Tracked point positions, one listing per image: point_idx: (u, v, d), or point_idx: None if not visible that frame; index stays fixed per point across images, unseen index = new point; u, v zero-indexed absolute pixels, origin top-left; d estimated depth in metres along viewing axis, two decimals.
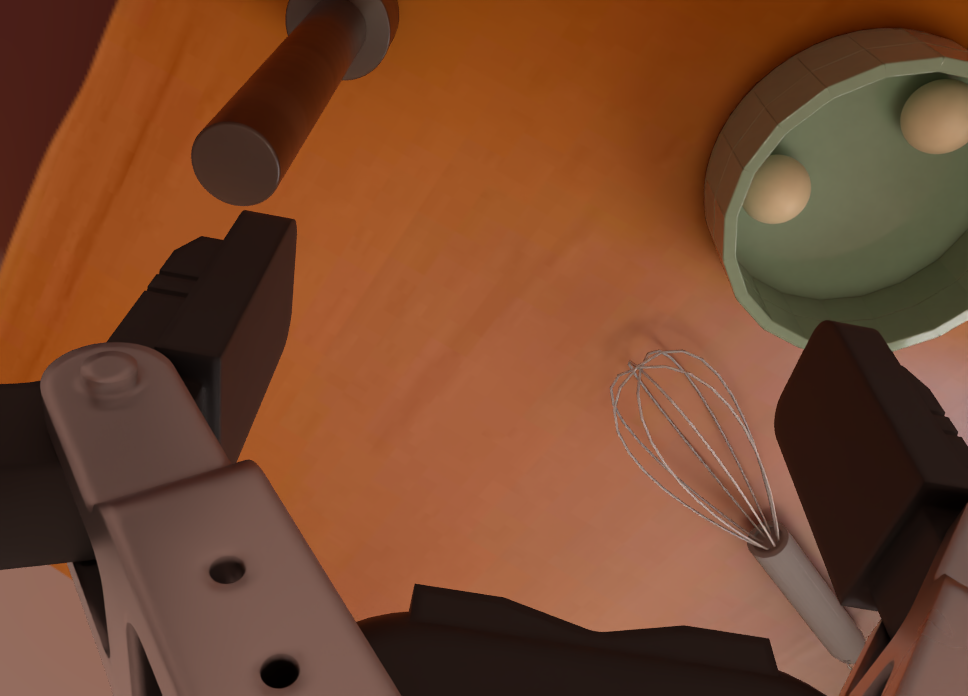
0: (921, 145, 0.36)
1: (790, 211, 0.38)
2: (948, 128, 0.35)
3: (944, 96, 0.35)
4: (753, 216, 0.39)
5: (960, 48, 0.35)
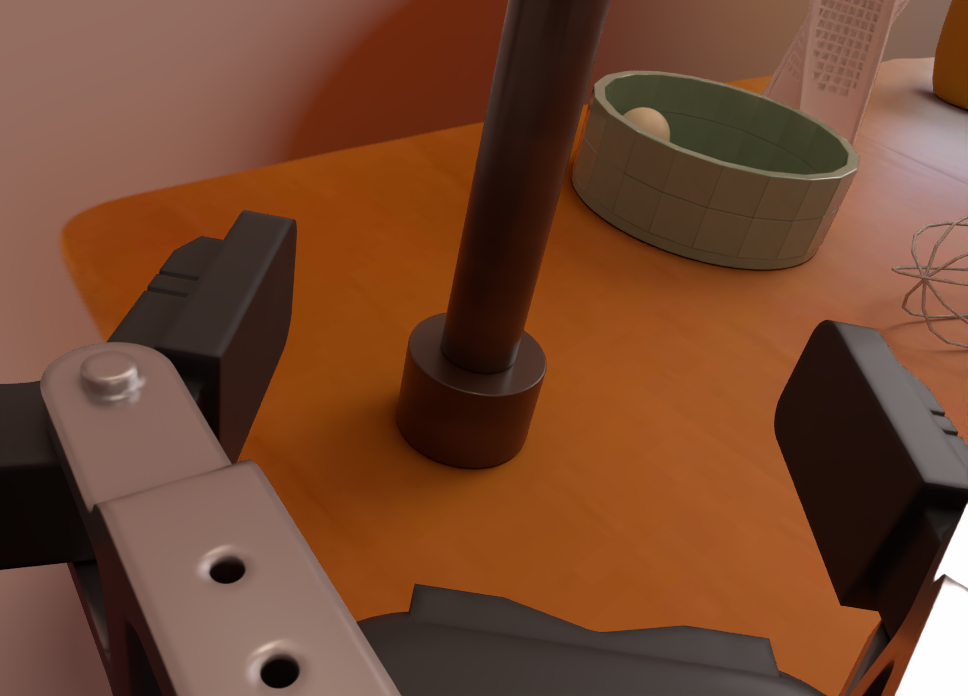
0: (661, 130, 0.46)
1: None
2: (648, 111, 0.46)
3: None
4: None
5: None
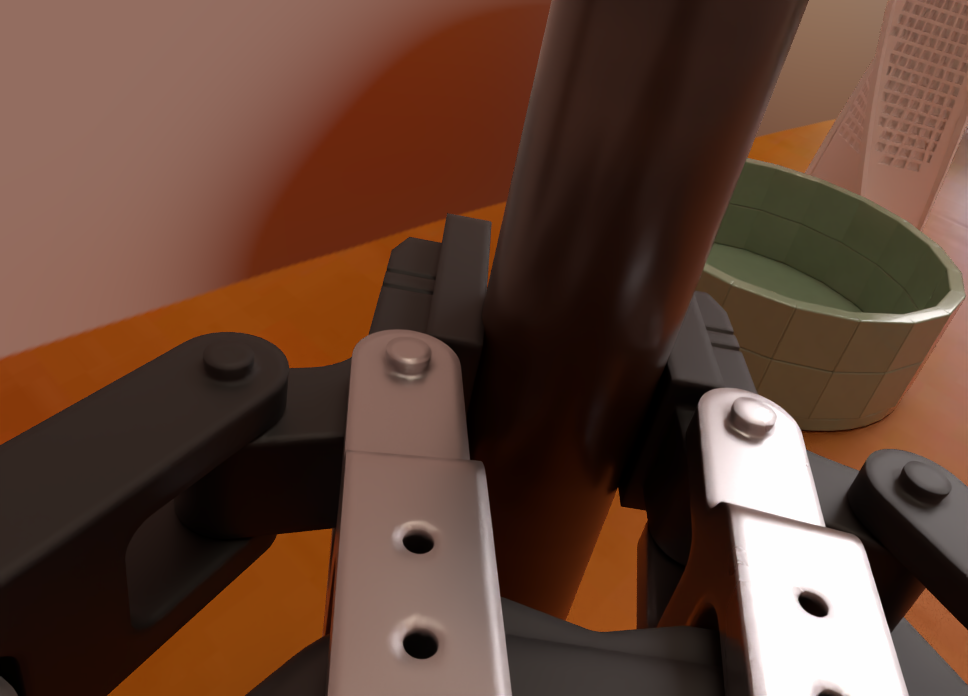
0: None
1: None
2: None
3: None
4: None
5: None
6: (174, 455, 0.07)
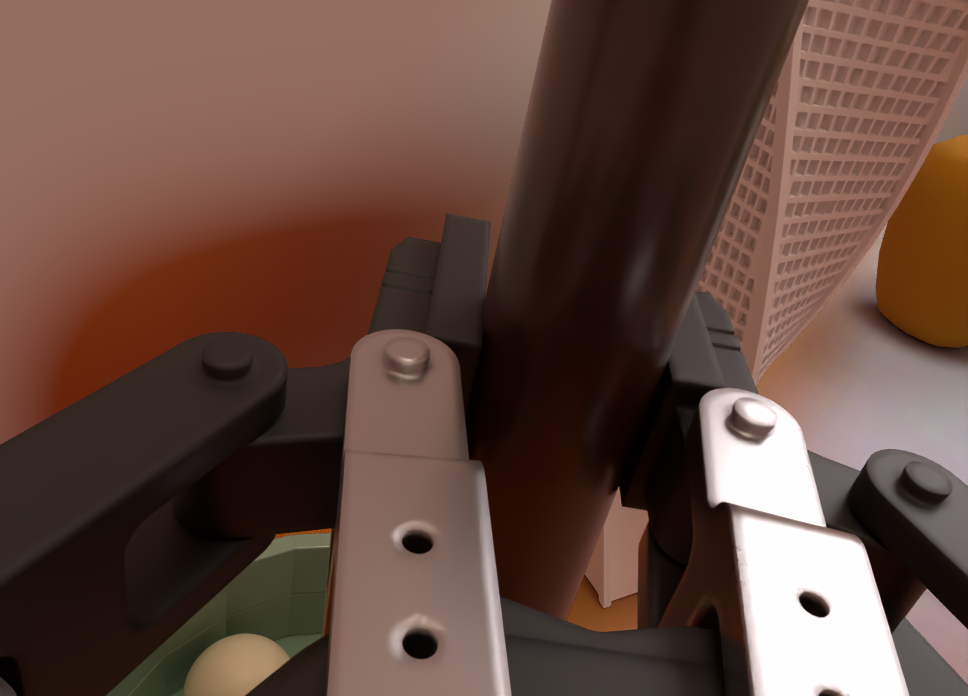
0: None
1: None
2: (235, 669, 0.23)
3: (192, 678, 0.23)
4: None
5: None
6: (173, 455, 0.07)
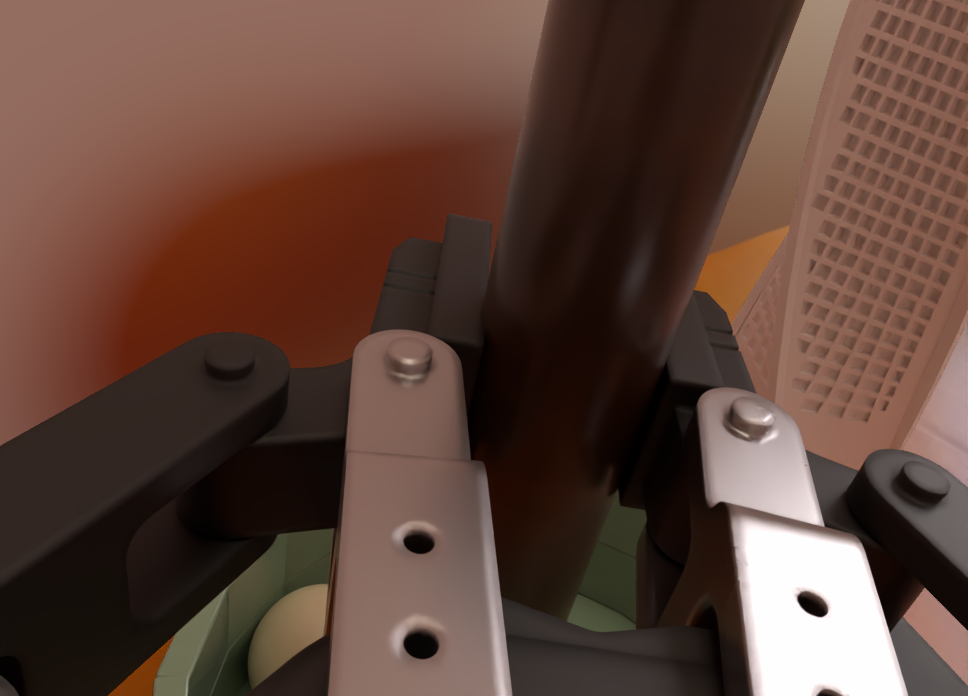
0: None
1: None
2: (303, 605, 0.18)
3: None
4: None
5: None
6: (175, 455, 0.07)
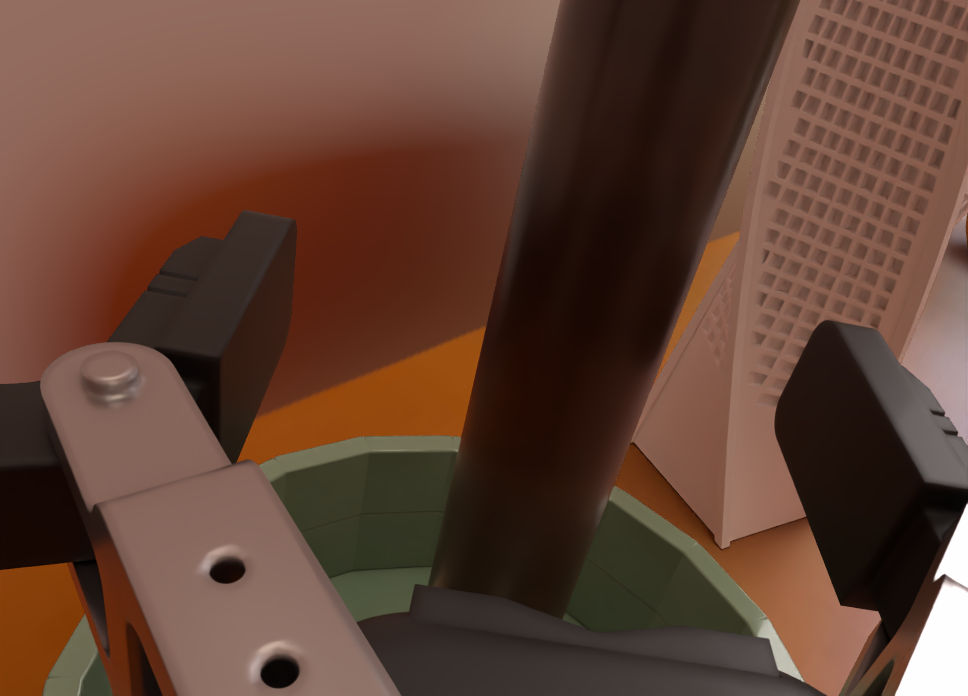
0: None
1: None
2: None
3: None
4: None
5: None
6: None
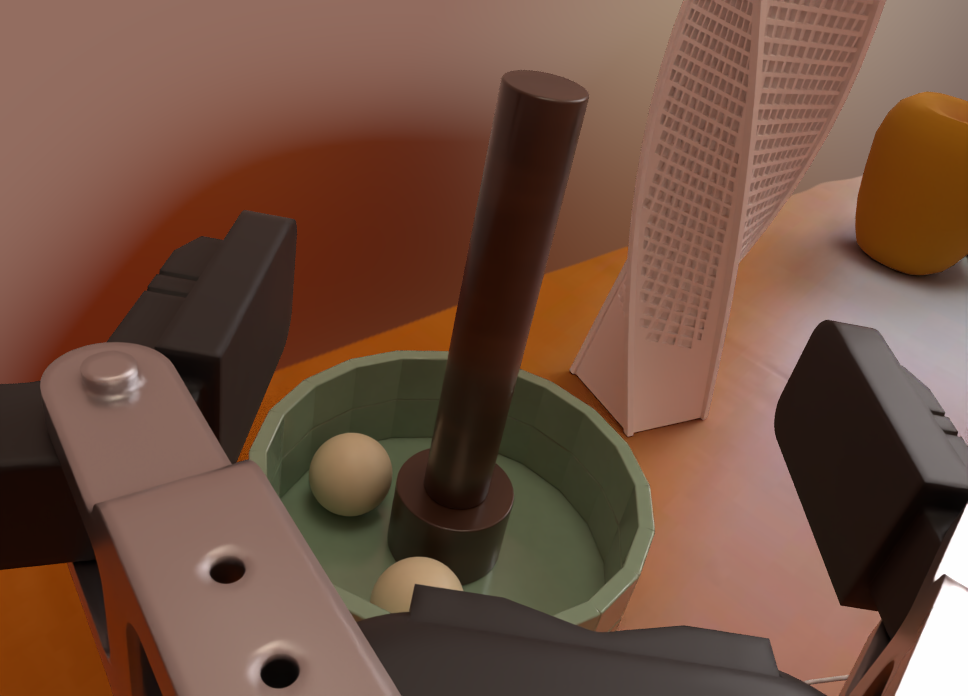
0: (349, 475, 0.30)
1: (440, 567, 0.27)
2: (358, 443, 0.31)
3: None
4: None
5: None
6: None
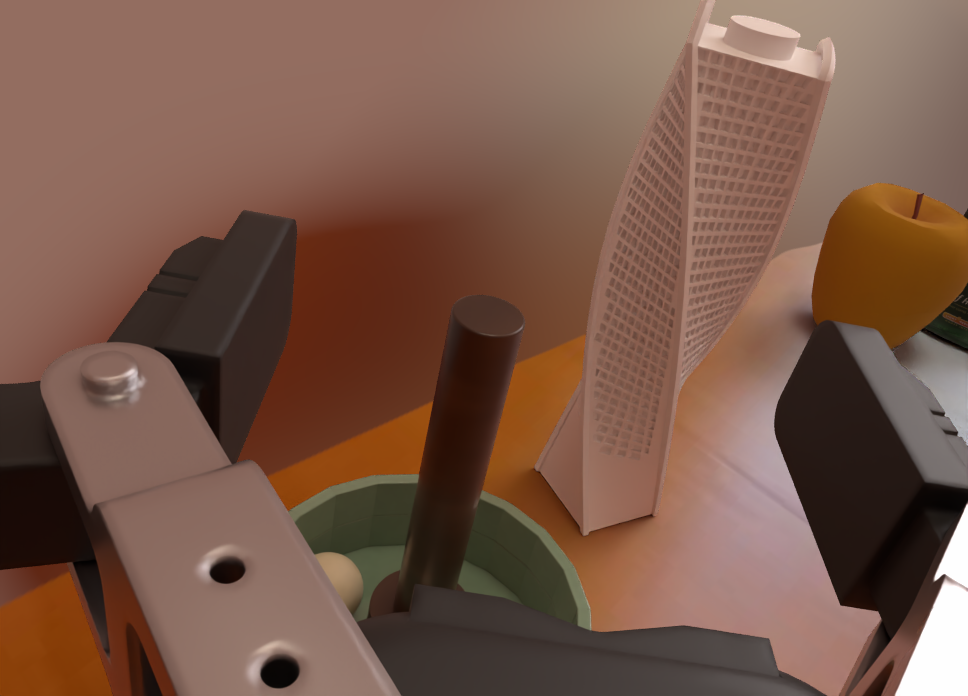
0: None
1: None
2: (329, 562, 0.36)
3: None
4: None
5: None
6: None
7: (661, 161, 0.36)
